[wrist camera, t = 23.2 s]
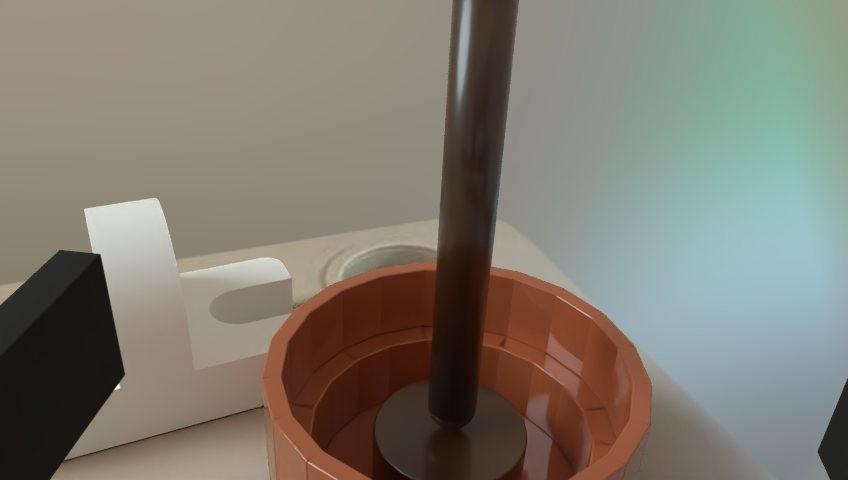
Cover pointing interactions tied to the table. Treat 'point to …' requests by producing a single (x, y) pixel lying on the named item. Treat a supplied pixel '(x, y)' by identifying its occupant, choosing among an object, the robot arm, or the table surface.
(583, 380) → the bowl
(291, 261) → the table surface
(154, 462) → the table surface
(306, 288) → the table surface
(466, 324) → the dark brown post
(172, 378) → the slotted bracket
